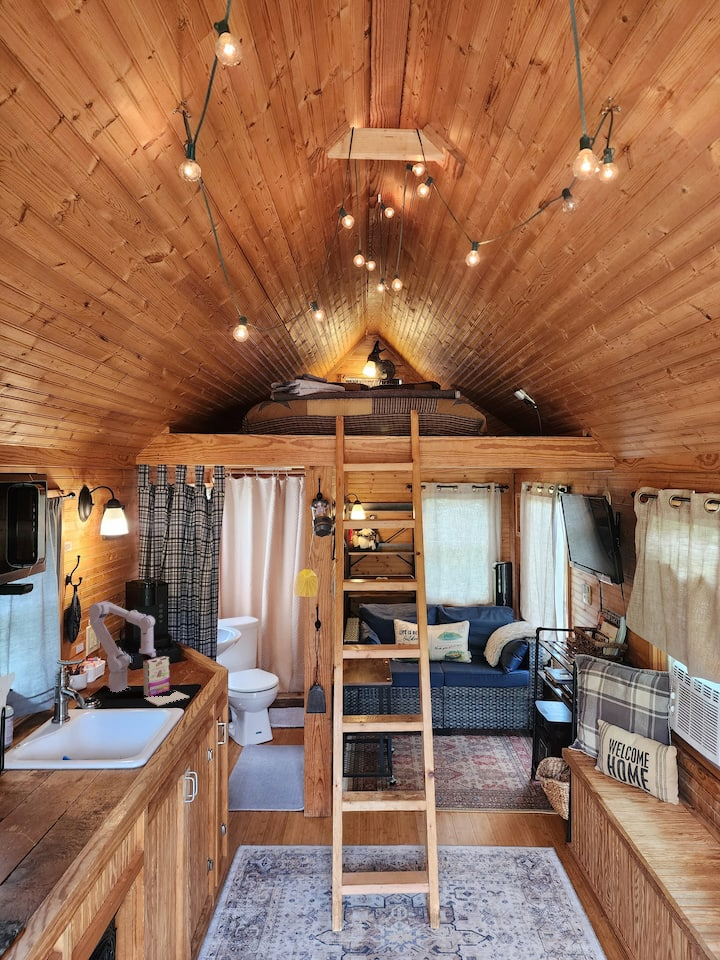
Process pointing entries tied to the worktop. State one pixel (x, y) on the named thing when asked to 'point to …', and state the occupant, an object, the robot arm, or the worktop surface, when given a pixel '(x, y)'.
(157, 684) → the candy bar box
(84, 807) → the worktop surface
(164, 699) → the mat
